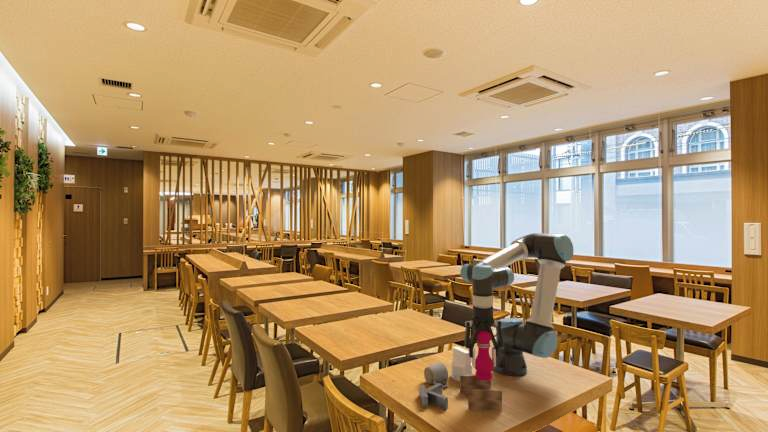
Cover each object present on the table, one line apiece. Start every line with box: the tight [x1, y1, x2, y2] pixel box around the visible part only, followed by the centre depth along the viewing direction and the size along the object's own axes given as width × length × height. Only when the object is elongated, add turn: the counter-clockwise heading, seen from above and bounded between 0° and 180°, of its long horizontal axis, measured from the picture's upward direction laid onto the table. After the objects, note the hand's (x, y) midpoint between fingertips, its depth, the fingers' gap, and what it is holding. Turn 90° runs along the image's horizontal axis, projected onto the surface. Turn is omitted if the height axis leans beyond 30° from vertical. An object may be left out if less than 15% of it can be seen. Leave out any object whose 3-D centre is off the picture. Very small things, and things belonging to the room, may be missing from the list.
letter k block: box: [418, 383, 449, 411], centre depth 151 cm, size 9×14×4 cm, turn 2°
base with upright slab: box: [450, 346, 473, 382], centre depth 173 cm, size 9×9×12 cm
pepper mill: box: [473, 330, 494, 381], centre depth 151 cm, size 7×7×20 cm
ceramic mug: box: [423, 362, 449, 390], centre depth 166 cm, size 11×8×8 cm
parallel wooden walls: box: [459, 373, 503, 411], centre depth 151 cm, size 12×15×7 cm
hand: (483, 365), depth 151 cm, fingers closed on pepper mill, 7 cm apart
